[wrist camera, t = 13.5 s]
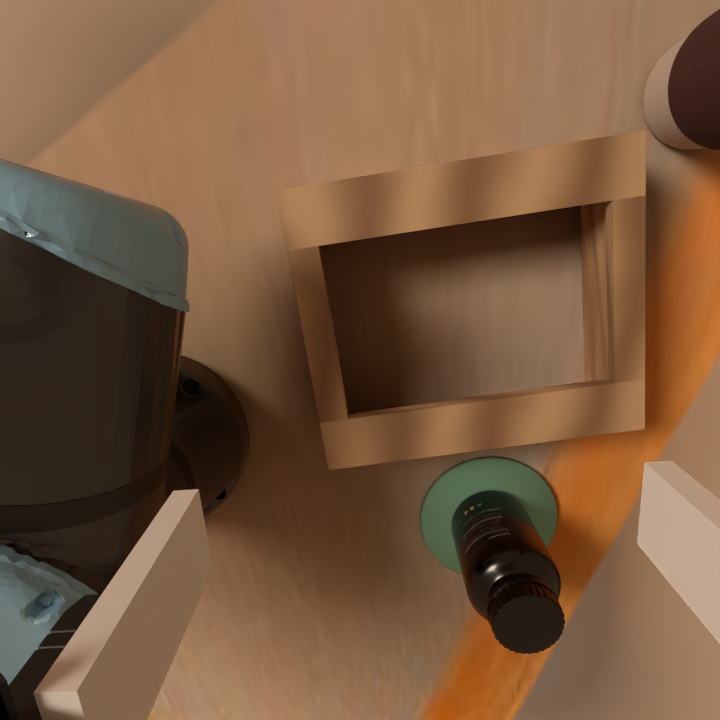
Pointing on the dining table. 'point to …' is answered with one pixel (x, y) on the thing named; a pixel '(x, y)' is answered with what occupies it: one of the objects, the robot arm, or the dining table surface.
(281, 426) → the dining table surface
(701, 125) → the coffee cup
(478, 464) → the mat
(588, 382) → the cover box
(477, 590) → the supplement bottle
